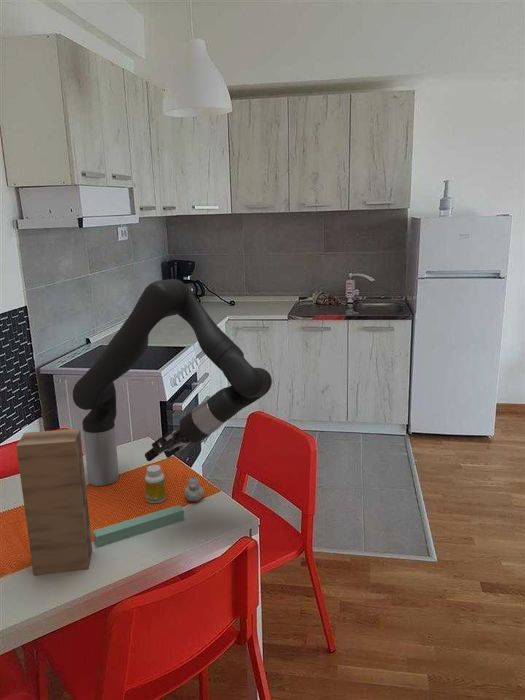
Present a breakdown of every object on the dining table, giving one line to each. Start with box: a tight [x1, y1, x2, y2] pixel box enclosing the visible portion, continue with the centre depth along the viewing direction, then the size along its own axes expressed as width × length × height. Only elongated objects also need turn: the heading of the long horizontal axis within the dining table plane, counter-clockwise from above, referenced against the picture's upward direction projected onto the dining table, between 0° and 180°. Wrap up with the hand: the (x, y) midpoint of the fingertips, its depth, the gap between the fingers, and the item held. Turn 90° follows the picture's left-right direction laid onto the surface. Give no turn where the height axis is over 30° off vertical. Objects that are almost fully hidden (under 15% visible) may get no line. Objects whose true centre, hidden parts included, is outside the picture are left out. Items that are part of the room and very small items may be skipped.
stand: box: [16, 428, 93, 576], centre depth 121 cm, size 7×12×32 cm, turn 100°
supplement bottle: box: [144, 464, 166, 504], centre depth 151 cm, size 5×5×10 cm
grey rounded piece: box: [184, 475, 205, 502], centre depth 151 cm, size 5×7×8 cm
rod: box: [92, 504, 185, 548], centre depth 137 cm, size 3×23×3 cm, turn 121°
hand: (156, 456), depth 134 cm, fingers open, 8 cm apart
